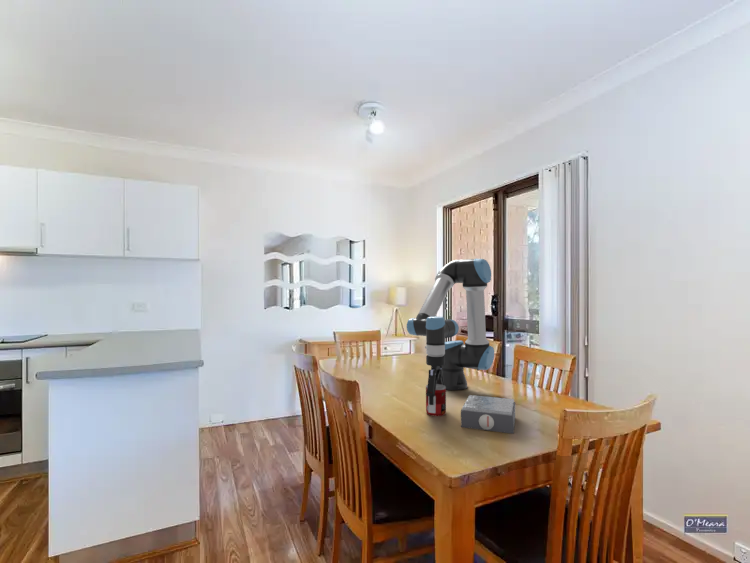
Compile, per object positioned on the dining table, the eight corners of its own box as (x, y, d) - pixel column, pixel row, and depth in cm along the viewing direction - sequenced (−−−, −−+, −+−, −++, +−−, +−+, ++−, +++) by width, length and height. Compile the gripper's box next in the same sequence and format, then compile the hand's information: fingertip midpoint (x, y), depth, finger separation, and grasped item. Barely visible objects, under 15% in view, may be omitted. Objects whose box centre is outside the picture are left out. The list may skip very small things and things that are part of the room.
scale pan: (469, 397, 159) (469, 394, 159) (513, 402, 153) (513, 399, 153) (462, 410, 143) (462, 406, 143) (511, 415, 137) (511, 412, 137)
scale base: (468, 412, 159) (468, 397, 160) (515, 417, 153) (515, 402, 153) (460, 427, 142) (460, 411, 142) (513, 434, 135) (513, 417, 135)
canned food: (445, 417, 154) (445, 388, 154) (425, 415, 155) (425, 388, 156) (446, 411, 161) (446, 384, 161) (426, 409, 163) (426, 383, 163)
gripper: (433, 349, 172) (433, 398, 171) (418, 359, 148) (418, 416, 148) (450, 350, 169) (451, 400, 169) (437, 361, 146) (438, 418, 145)
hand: (435, 407), depth 158 cm, fingers open, 13 cm apart
